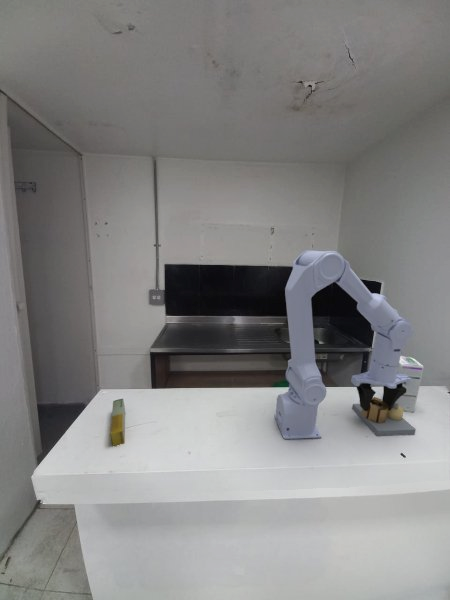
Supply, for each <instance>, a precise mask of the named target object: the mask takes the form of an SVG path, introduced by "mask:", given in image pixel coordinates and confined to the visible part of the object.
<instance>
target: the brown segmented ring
mask: <svg viewBox="0 0 450 600" xmlns="http://www.w3.org/2000/svg"><path fill="white" fill-rule="evenodd" d="M382 399H383V398H379V397H376V396H373V398H372V400H371V402H370V406H369V409H368V411H364V410H363V409H362V415H363V416H364V417H365V418H366V419H368V420H369V421H372V422H374V423H376V422H377V423H378V424H381V423H384V422H386V417H387V413H388V408H389V406H388V404H387V403H386V402H385V401H382ZM373 404H375V405H377V406H375V405H373Z"/></svg>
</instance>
